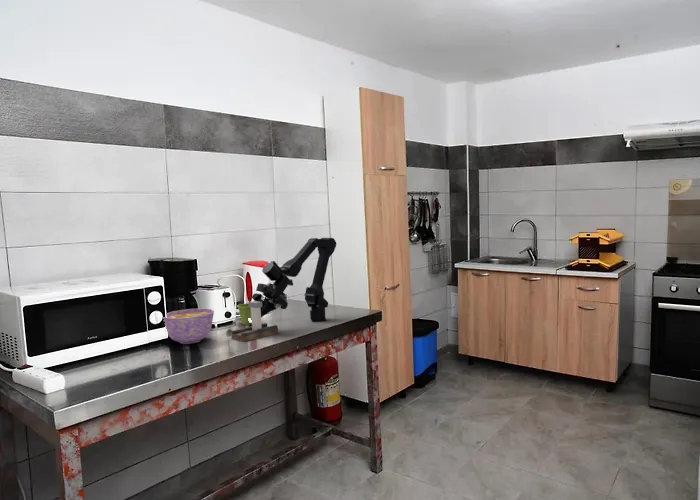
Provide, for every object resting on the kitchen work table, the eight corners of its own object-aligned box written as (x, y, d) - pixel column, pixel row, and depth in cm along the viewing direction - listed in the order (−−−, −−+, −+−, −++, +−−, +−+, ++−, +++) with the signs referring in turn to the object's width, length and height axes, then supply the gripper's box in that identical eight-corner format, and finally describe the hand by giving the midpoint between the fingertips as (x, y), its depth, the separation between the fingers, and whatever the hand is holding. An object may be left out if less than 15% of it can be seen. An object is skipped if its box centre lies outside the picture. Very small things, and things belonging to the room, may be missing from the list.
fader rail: (265, 330, 219) (264, 323, 219) (278, 333, 213) (277, 325, 212) (231, 338, 207) (231, 330, 206) (244, 341, 200) (243, 333, 200)
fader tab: (256, 328, 213) (254, 300, 212) (263, 329, 209) (262, 301, 209) (250, 329, 211) (248, 302, 210) (257, 331, 207) (255, 303, 206)
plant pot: (261, 321, 239) (260, 302, 238) (255, 325, 230) (254, 306, 229) (241, 321, 240) (240, 303, 239) (235, 326, 231) (234, 307, 230)
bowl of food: (165, 338, 212) (163, 311, 211) (214, 333, 218) (212, 306, 217) (162, 350, 193) (160, 320, 192) (217, 344, 199) (215, 315, 198)
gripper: (254, 274, 220) (233, 303, 213) (280, 277, 207) (260, 308, 200) (269, 290, 226) (250, 319, 219) (296, 293, 213) (276, 324, 206)
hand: (258, 317), depth 211 cm, fingers closed, pressing on fader tab
